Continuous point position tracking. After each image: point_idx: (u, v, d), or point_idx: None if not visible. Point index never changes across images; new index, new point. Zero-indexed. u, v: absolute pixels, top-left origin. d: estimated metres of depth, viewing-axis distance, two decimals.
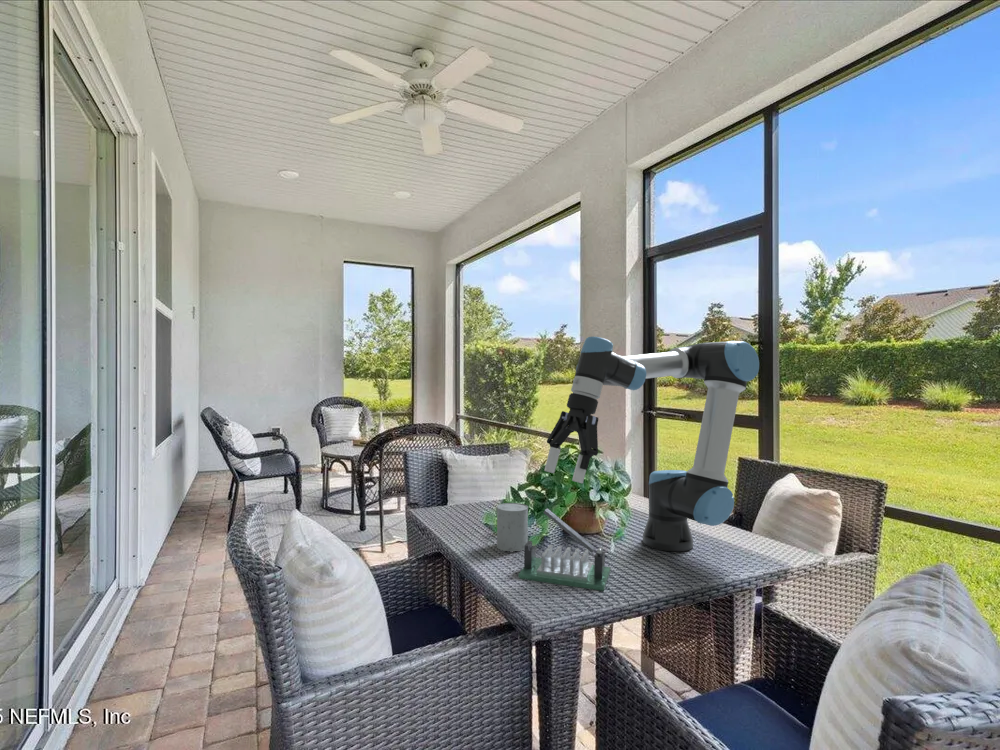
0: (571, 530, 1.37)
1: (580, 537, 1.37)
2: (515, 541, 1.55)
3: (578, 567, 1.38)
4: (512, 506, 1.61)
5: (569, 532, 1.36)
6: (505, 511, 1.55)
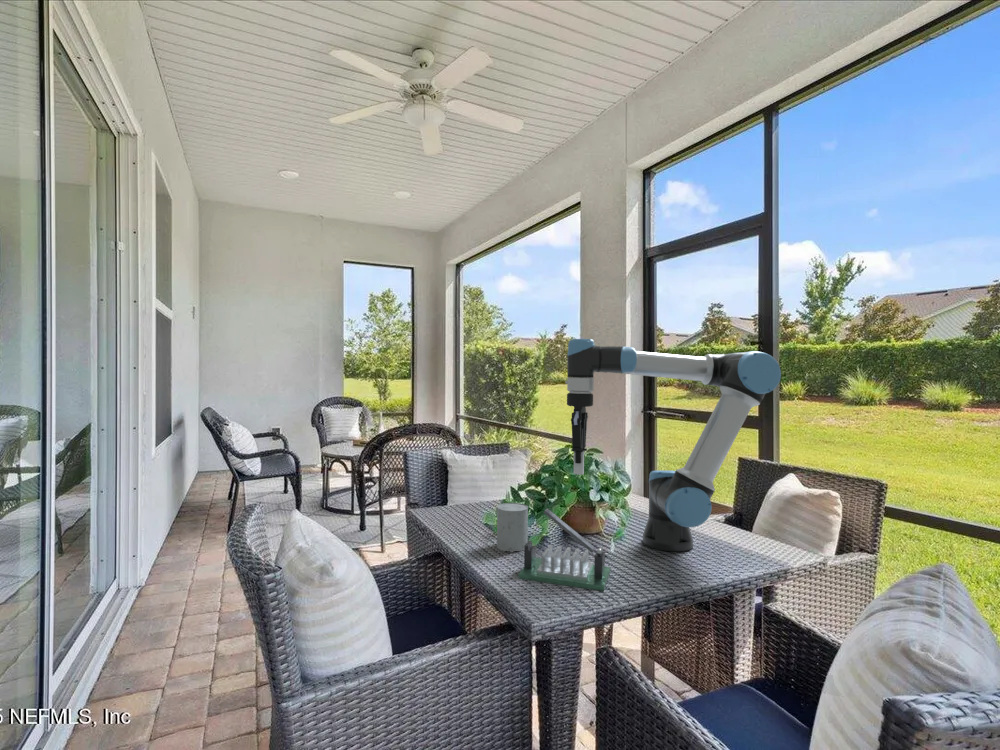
0: (571, 530, 1.37)
1: (580, 537, 1.37)
2: (515, 541, 1.55)
3: (578, 567, 1.38)
4: (512, 506, 1.61)
5: (569, 532, 1.36)
6: (505, 511, 1.55)
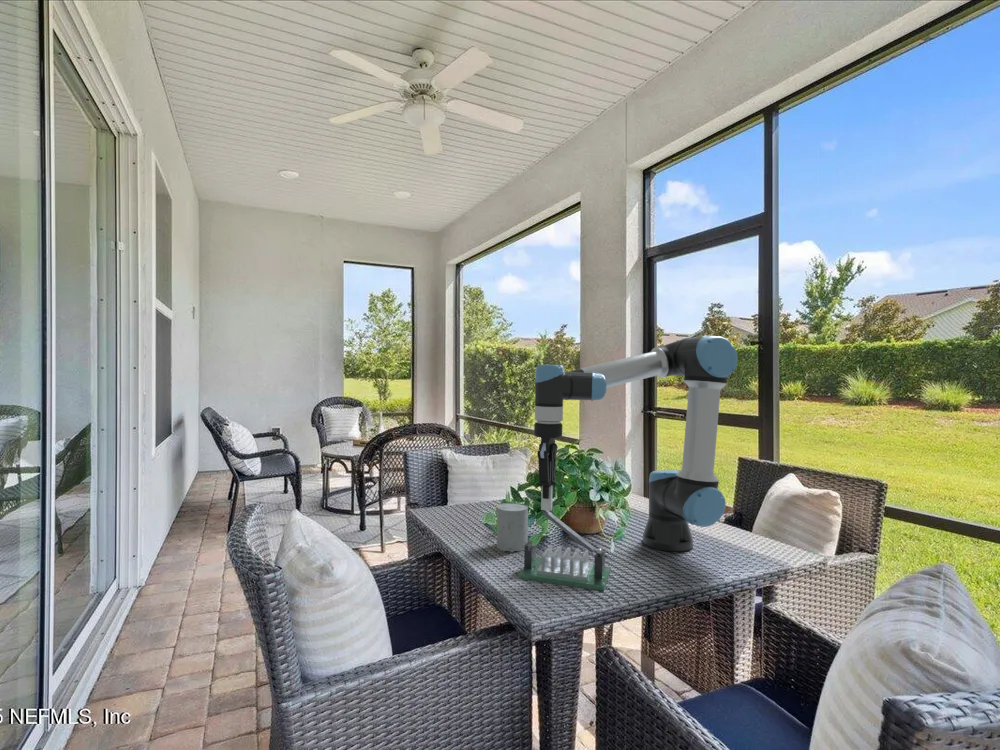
0: (571, 531, 1.37)
1: (580, 537, 1.37)
2: (515, 541, 1.55)
3: (578, 567, 1.38)
4: (512, 506, 1.61)
5: (569, 533, 1.36)
6: (505, 511, 1.55)
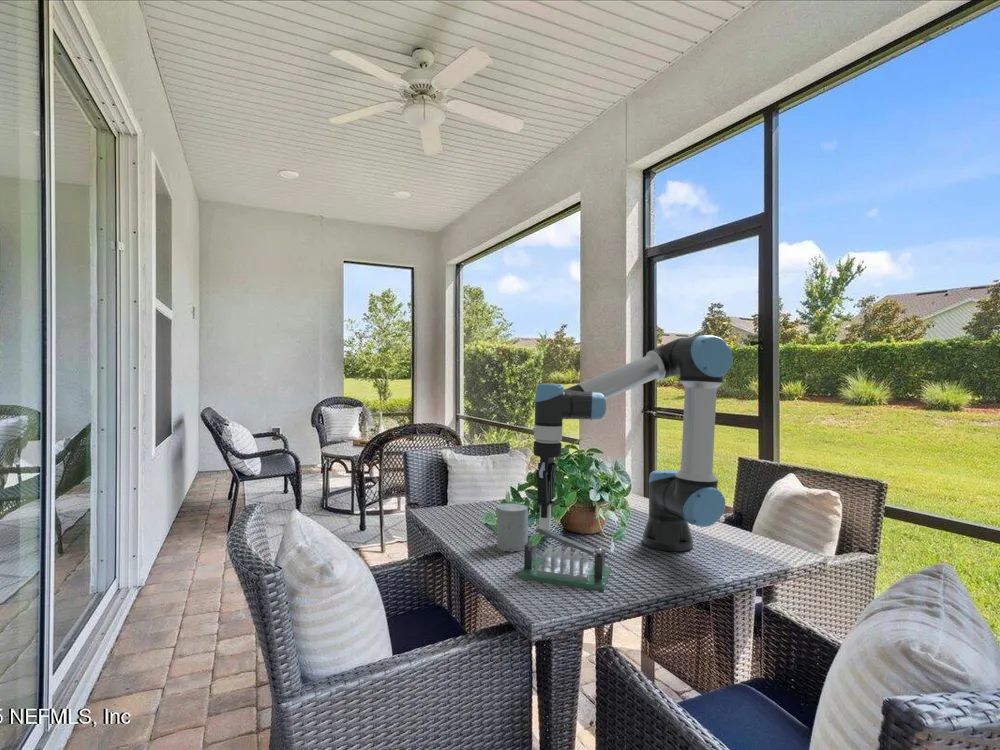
0: (567, 540, 1.38)
1: (578, 543, 1.37)
2: (515, 541, 1.55)
3: (578, 567, 1.38)
4: (512, 506, 1.61)
5: (565, 542, 1.37)
6: (505, 511, 1.55)
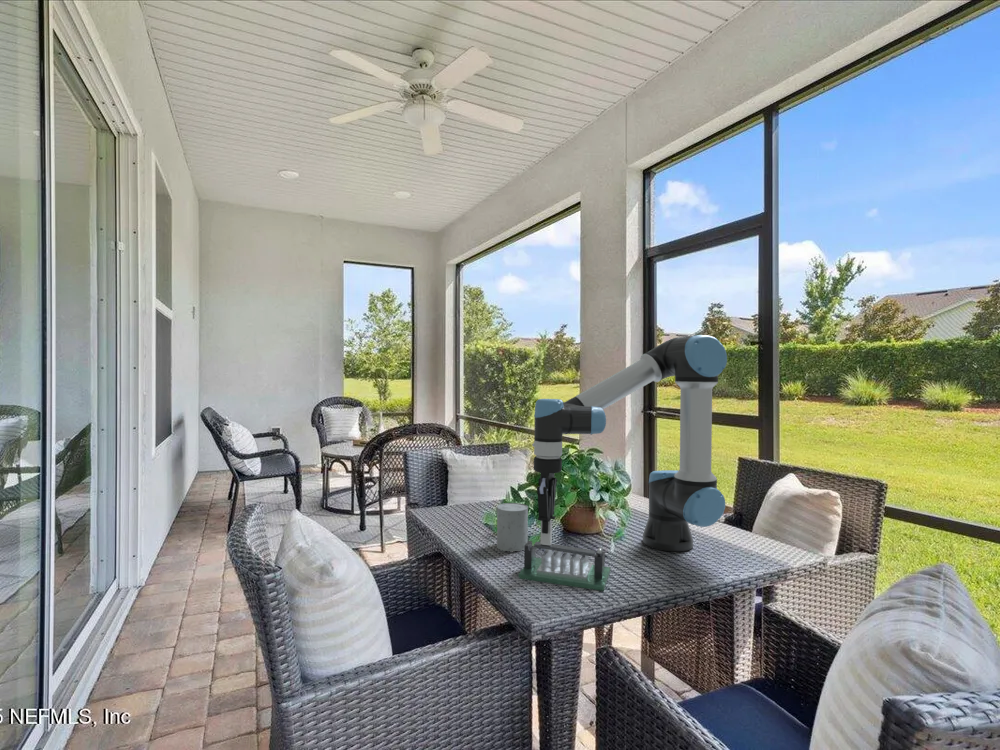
0: (566, 548, 1.38)
1: (577, 549, 1.37)
2: (515, 541, 1.55)
3: (578, 567, 1.38)
4: (512, 506, 1.61)
5: (565, 550, 1.37)
6: (505, 511, 1.55)
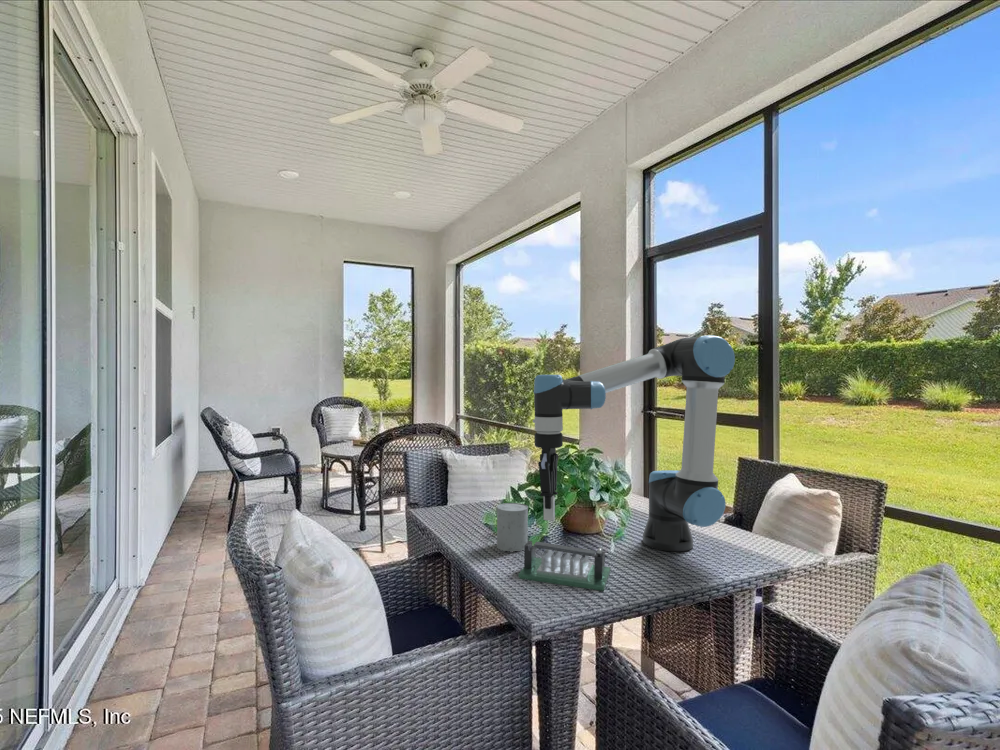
0: (566, 548, 1.38)
1: (577, 549, 1.37)
2: (515, 541, 1.55)
3: (578, 567, 1.38)
4: (512, 506, 1.61)
5: (565, 550, 1.37)
6: (505, 511, 1.55)
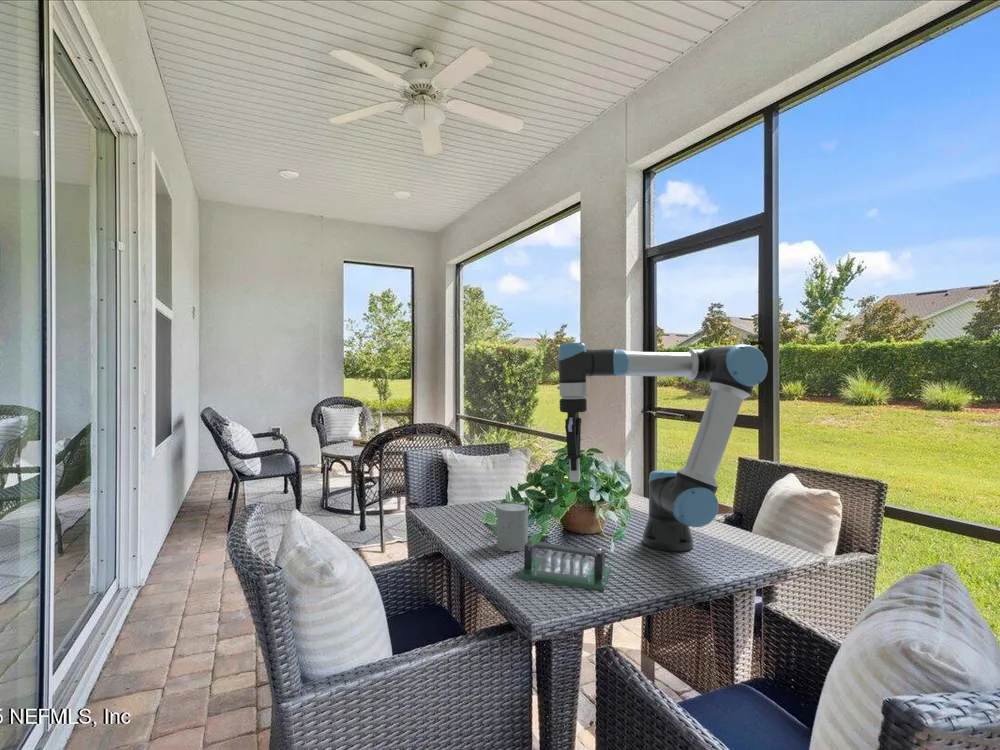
0: (566, 548, 1.38)
1: (577, 549, 1.37)
2: (515, 541, 1.55)
3: (578, 567, 1.38)
4: (512, 506, 1.61)
5: (565, 550, 1.37)
6: (505, 511, 1.55)
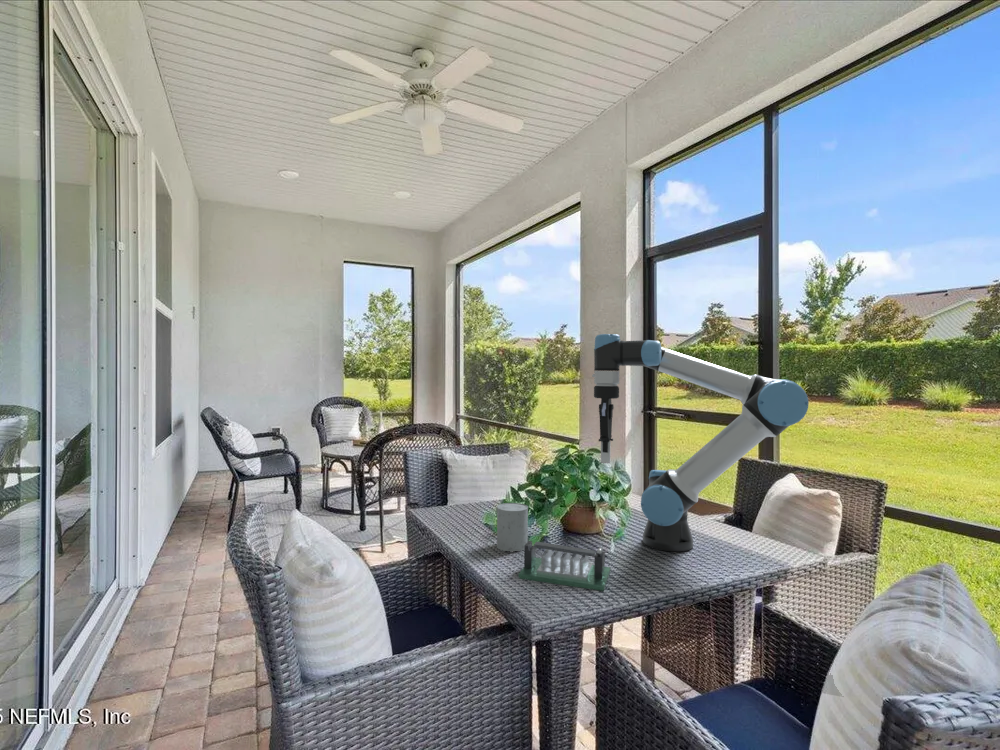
0: (566, 548, 1.38)
1: (577, 549, 1.37)
2: (515, 541, 1.55)
3: (578, 567, 1.38)
4: (512, 506, 1.61)
5: (565, 550, 1.37)
6: (505, 511, 1.55)
